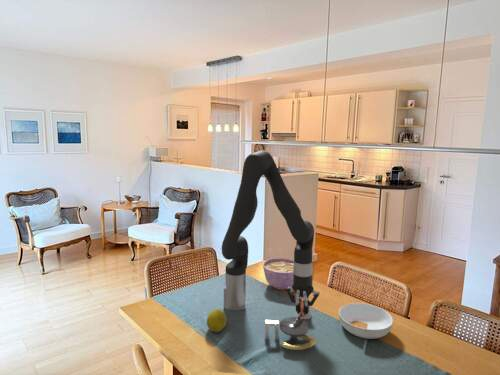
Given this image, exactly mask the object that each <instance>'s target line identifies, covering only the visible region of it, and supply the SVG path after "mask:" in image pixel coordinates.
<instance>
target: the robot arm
mask: <svg viewBox="0 0 500 375" xmlns="http://www.w3.org/2000/svg"><path fill="white" fill-rule="evenodd" d="M262 176H264V178H266V180H267V182H268V184H269V186H270V189H271V192H272V198H273V200H274V203H275V206H276V208H277V209H278V211H279V212H280V214H281V215H282V217H283V219H284V220H285V222H286V226H287V227H288V230H289V232H290V234H291V236H292V238H294V240H295V241H296V242H295V243H296V245H295V247H294V250H293V251H294V252H293V260H294V265H293V285H292V286H291V287H290V286H288V288H287V289H285V291H286V293H287V295H288V298H289V299H290V302H291V303H294V304H295V312H296V314H297V313H298V314H299V313H300V299H302V297H303V298H304V301H305V306H304V315H307V314H308V312H309V309H310V307H313V305H314V304H315V302H316V301H317V299H318V297H319V295H320V292H319V291H318V290H315V289H314V287H313V280H314V279H313V275H314V270H313V269H314V266H313V245H314V239H315V238H314V237H315V228H314V225H313V224H312V223H311V222H310V221H308V220H304V219H303V217H302V212H301V209H300V207H299V205H298V204H297V202H296V201H295V200H294V197H292V195H291V193H290V192H289V189H288V188H287V186H286V184H285V182H284V179H283V178H282V176H281V173H280V170H279V169H278V167H277V164H276V162H275V159H274V158H273V156H272V154H271V153H270V152H268V151H267V150H258V151H255V152H252V153H250V154H249V155H247V157H246V158H245V159H244V162H243V167H242V173H241V180H240V185H239V188H238V192H237V197H236V200H235V202H234V206H233V209H232V210H233V211H232V215H231V218H230V221H229V224H228V228H227V230H226V233H225V235H224V237H223V240H222V243H221V253H222V256H223V258H224V259H225V260H231V261H229V262H228V263H227V264H226V265H225V287H224V288H223V308H224V309H225V310H228V311H244V310H245V309H246V306H247V305H246V301H247V300H246V299H247V298H246V297H247V296H246V295H247V292H246V291H247V289H246V287H247V286H246V285H247V283H246V281H247V280H246V279H247V278H246V277H247V267H248V260H249V245H248V241H247V239H246V238H245V237H244V236H242V233H243V232H244V231H245V230H246V229H247V227H249V225H251V223H252V222H253V220H254V218H255V215H256V212H257V208H258V204H259V203H258V202H259V201H258V196H257V189H258V185H259V182H260V180H261V178H262ZM311 294H312V299H311V300H310V295H311ZM295 295H296V296H295Z"/></svg>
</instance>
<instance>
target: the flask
mask: <svg viewBox="0 0 500 375" xmlns="http://www.w3.org/2000/svg"><path fill="white" fill-rule="evenodd" d="M301 299H304V298H303V297H301ZM296 316H297V318H298V317H299V314H298V313H297V312H296ZM312 316H313V315H312V312H311V309H310V308H309V312H308V314H307V315H305V317H304V318H302V319H303V320H309V319H311V318H312Z"/></svg>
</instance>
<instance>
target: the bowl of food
mask: <svg viewBox="0 0 500 375" xmlns="http://www.w3.org/2000/svg"><path fill="white" fill-rule="evenodd" d="M293 265H294V259H290V258H286V257H285V258H283V257H282V258H281V257H278V258H276V257H275V258H270V259H267V260H265V261H264V262H263V263H262V268H263V272H264V277H265V280H266V282H267V283H268V284H269V285H270V286H272V287H273V288H275V289H277V290H286V289H287V288H288V286H290V287H291V286H292V285H293Z"/></svg>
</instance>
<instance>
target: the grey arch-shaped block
mask: <svg viewBox="0 0 500 375" xmlns="http://www.w3.org/2000/svg"><path fill="white" fill-rule="evenodd" d="M264 322H265V323H264V340H266V341H267V340H268V341H269V335H270V334H269V330H270V329H269V328H270V327H274V341H279V334H280V333H279V331H280V322H279V320H277V319H276V320H274V319H265V320H264Z"/></svg>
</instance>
